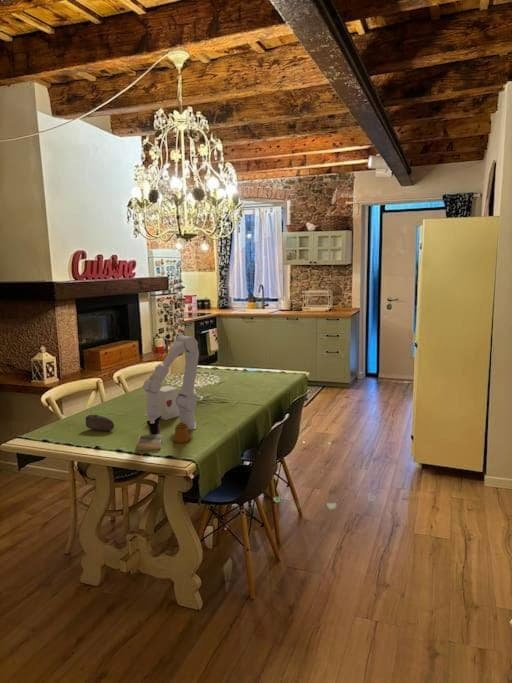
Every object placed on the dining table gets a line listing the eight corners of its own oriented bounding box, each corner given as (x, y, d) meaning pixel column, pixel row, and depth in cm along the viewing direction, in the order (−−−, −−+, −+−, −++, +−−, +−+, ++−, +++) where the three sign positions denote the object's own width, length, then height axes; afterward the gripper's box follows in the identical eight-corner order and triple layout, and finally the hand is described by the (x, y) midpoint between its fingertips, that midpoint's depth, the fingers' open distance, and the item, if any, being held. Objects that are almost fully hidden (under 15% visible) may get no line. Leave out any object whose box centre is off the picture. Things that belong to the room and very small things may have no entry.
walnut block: (151, 435, 224) (150, 422, 223) (160, 434, 224) (159, 422, 223) (149, 438, 220) (149, 425, 219) (159, 437, 220) (158, 425, 219)
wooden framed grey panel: (140, 441, 216) (139, 434, 216) (163, 440, 217) (162, 433, 216) (136, 450, 206) (136, 443, 206) (160, 449, 207) (160, 442, 207)
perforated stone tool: (117, 429, 232) (116, 415, 231) (110, 433, 227) (109, 419, 226) (92, 426, 238) (91, 412, 237) (85, 430, 233) (83, 416, 232)
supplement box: (165, 420, 244) (164, 391, 241) (155, 417, 250) (153, 388, 247) (180, 416, 250) (178, 387, 248) (169, 412, 256) (167, 385, 254)
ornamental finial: (191, 442, 214) (174, 444, 212) (189, 436, 221) (173, 438, 219) (190, 425, 213) (173, 426, 211) (189, 419, 220) (172, 421, 218)
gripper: (146, 400, 226) (148, 428, 229) (142, 410, 212) (144, 439, 214) (161, 399, 227) (163, 427, 229) (158, 409, 213) (160, 438, 215)
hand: (155, 433), depth 222 cm, fingers closed on walnut block, 4 cm apart
